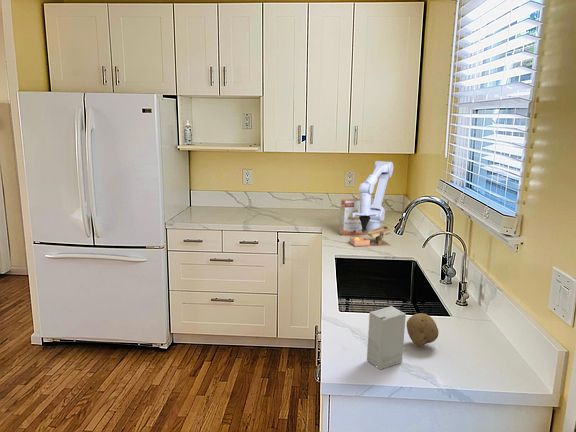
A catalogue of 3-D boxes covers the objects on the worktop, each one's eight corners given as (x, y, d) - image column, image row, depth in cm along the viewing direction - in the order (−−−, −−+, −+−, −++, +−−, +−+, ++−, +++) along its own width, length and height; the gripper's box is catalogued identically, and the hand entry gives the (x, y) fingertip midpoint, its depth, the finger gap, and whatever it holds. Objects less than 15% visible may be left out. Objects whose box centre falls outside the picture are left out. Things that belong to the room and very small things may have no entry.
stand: (347, 244, 251) (348, 229, 249) (384, 242, 256) (385, 228, 254) (353, 248, 243) (354, 233, 241) (391, 247, 247) (392, 232, 246)
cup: (349, 242, 250) (349, 237, 249) (364, 242, 252) (364, 237, 251) (354, 246, 243) (354, 240, 243) (369, 245, 245) (369, 240, 245)
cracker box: (343, 236, 267) (345, 200, 263) (338, 234, 273) (340, 199, 268) (365, 235, 272) (367, 200, 267) (360, 233, 277) (362, 198, 273)
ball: (361, 241, 248) (355, 245, 248) (357, 236, 249) (352, 239, 249) (360, 240, 245) (355, 244, 245) (357, 235, 246) (351, 239, 246)
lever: (361, 234, 258) (360, 228, 257) (380, 228, 260) (378, 221, 259) (371, 240, 246) (369, 233, 245) (390, 233, 247) (389, 227, 246)
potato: (431, 339, 143) (434, 308, 141) (441, 353, 134) (444, 320, 132) (401, 338, 143) (404, 308, 141) (410, 353, 134) (413, 320, 132)
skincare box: (388, 354, 133) (391, 305, 130) (403, 363, 128) (407, 312, 125) (365, 361, 129) (368, 310, 126) (379, 371, 124) (383, 318, 121)
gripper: (355, 206, 248) (354, 231, 251) (380, 206, 252) (379, 230, 254) (350, 204, 255) (349, 228, 258) (375, 203, 258) (373, 227, 261)
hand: (363, 229), depth 256 cm, fingers closed
